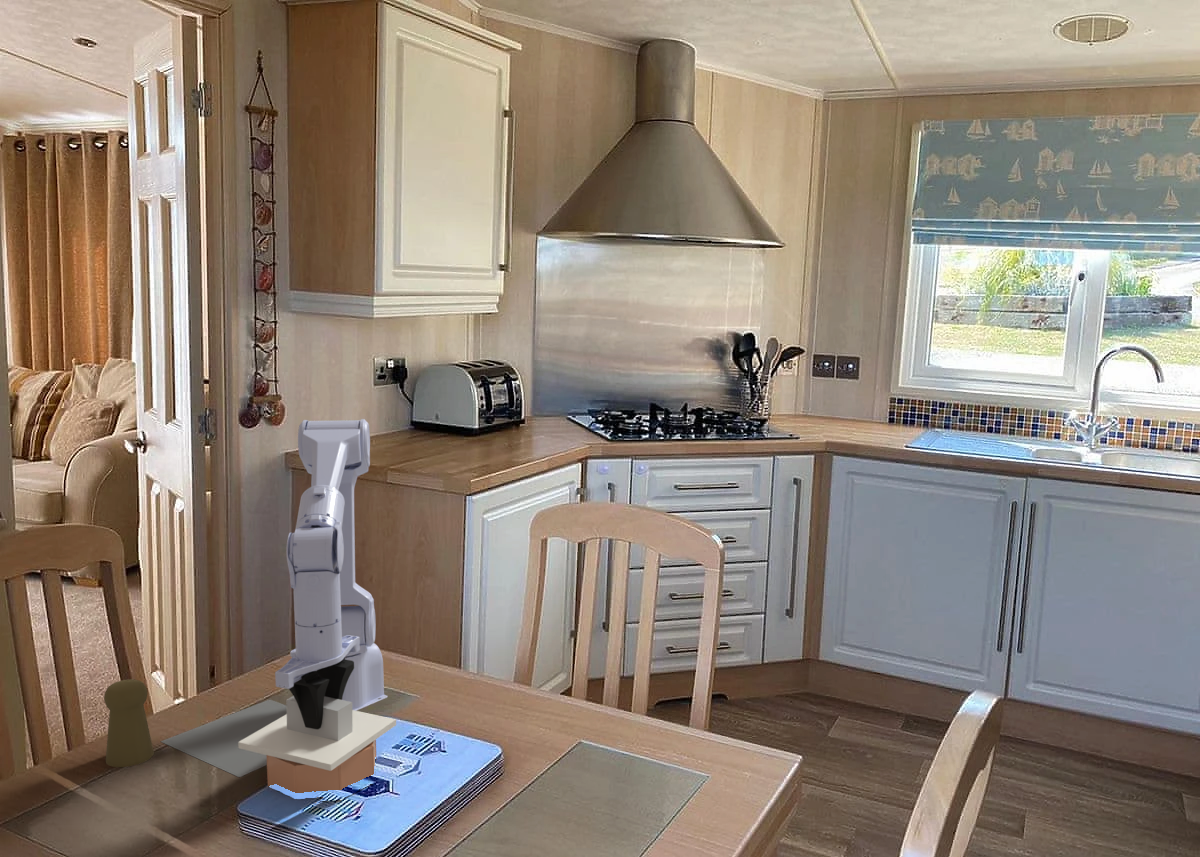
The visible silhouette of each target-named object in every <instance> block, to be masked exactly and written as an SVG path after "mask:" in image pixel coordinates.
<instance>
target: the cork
mask: <svg viewBox="0 0 1200 857" xmlns="http://www.w3.org/2000/svg"><path fill="white" fill-rule="evenodd" d="M103 697H104V703H105V705H106V706H105V707H106V708H107V709H108V710H109V712H108V713H109V715H108V727H107V740H106V751H105V764H106V765H107V766H110V767H112V768H113V767H114V768H128V767H133V766H137V765H140V764H142V763H146V762H147V761H149V760H150V759H151V758H152V757H153V756H154V754H155V751H154V747H153V741H152V738H151V734H150V728H149V723H148V719H147V715H146V710H145V705H144V704H146V701H147V698H148V688H147V686H146V685H145V683H144V681H142V680H138V679H131V678H130V679H122V680H118V681H115V682H114V683H112V684H110V685H108V686H107V689H105V691H104V695H103Z"/></svg>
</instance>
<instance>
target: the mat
mask: <svg viewBox="0 0 1200 857" xmlns="http://www.w3.org/2000/svg"><path fill="white" fill-rule="evenodd" d="M286 714H287V706H286V704H283V703H281V702H278V701H276V700H273V699H268V700H265V701H262V702H259V703H257V704H254V705H252V706H249V707H247V708H244V709H241V710H239V711H236V712H233V713H230V714H228V715H225V716H223V717H220V718H218V719H215V720H212V721H211V722H208V723H205V724H203V725H201V726H200V725H199V726H197V727H195V728H192V729H190V730H187V731H184V732H181V733H179V734H176V735H173V736H171V737H168V738H166V739H163V740H161V741H160V743H162V744H165V745H167V746H168V747H171V748H174V749H175V750H177V751H180V752H183V754H186V755H188V756H191V757H193V758H195V759H198V760H200V761H202V762H204V763H207V764H208V765H211V766H213V767H215V768H218V769H219V770H222V771H224V772H225V773H229V774H231V775H232V776H235V777H237V778H242V777H244V776H246V775H248V774H251V773H253V772H255V771H257V770H260V769H262V768H265V767H267V756H266V755H264V754H260V753H256V752H252V751H248V750H244V749H240V748H239V746H238V742H239V741H241V740H243V739H245V738H246V737H248V736H250V735H251V734H253V733H255V732H257V731H258V730H260V729H262V728H264V727H265V726H267V725H269V724H270V723H272V722H274V721H276V720H277V719H279V718H281V717H283V716H284V715H286Z"/></svg>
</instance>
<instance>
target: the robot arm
mask: <svg viewBox="0 0 1200 857" xmlns="http://www.w3.org/2000/svg"><path fill="white" fill-rule="evenodd" d="M370 433H371V432H370V424H369V422H368V421H367V420H366V419H365V418H361V419H357V420H356V419H354V420H353V419H352V420H350V419H348V420H346V419H345V420H308V419H303V420H302V422H300V424H299V425H298V432H297V449H298V455H299V459H300V460H301V463H302V465H303V467H304V468H305V470H306V472H307V473H308V474H310V475H311V479H310V480H311V484H310V485H311V486H310V487H307V489H306V490H304V492H303V493H302V494H301V496H300V501H299V507H298V513H297V517H296V518H297V519H296V523H295V530H294V532H289V533H288V534H287V535H288V536H287V541H286V562H287V568H288V572H289V580H290V582H289V583H290V588H291V589H293V611H294V633H295V634H294V636H295V637H294V640H295V648H294V649H292V650H291V651H290V652H289V653H290V654H289V655H290V657H291V658H290V659H289V660H288V661H287V662H286V663H285V664H284V665H283V666H282V667H281V668H280V669H278V670H276V671H275V673H274V674H275V679H274V680H275V688H276V687H277V688H281V689H287V690H289V691H290V693H291V694H292V696H294V698H295V700H296V702H297V704H298V707H299V709H300V712H301V715H302V718H303V721H304V724H305V727H306V728H312V729H320V728H321V725H322V719H323V702H324V696H326V697H330V698H335V699H340V700H344V701H349V702H352V710H355V711H359V710H361V709H363V708H366V707H368V706H370V705H373V704H375V703H377V702H379V701H382V700H384V699H387V698H388V696H389V695H386V694H385V681H384V659H383V654H382V652H381V649H380V648H379V646H378V645H377V644H376V643H375V641H376V623H377V622H376V621H377V620H376V610H375V603H374V602H375V599H374V598H373V596H372V595H373V594H371V593H370V592H369V591H368V590H366V589H365V588H363V587H362V586H360V584H358V583H357V582H356V550H355V549H356V545H355V544H356V543H355V539H356V536H355V531H356V530H355V528H356V527H355V486H356V483H357V480H358V477H360V476H361V475H364V474H367V473H368V472H369V468H370V466H371V451H370V450H371V434H370ZM350 605H351V606H350Z"/></svg>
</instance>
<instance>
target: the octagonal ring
mask: <svg viewBox="0 0 1200 857" xmlns="http://www.w3.org/2000/svg"><path fill="white" fill-rule="evenodd" d="M266 756H267V765H266V772H267V773H266V774H267V775H266V776H267V787H268V786H270V785H274V784H277V785H279V786H281V787H284V788H285V789H288V790H290V791H292V792H295V793H304V792H312V791H314V792H316V791H328V790H342V789H343V788H345V787H347V786H348V785H351V784H353V783H356V782H358V781H360V780H362V779H364V778H366V777H369V776H371V775H373V774H374V766H375V767H376V765H375V757H376V758H377V739H376V740H374V741H373V742H371V743H370V744H369V745H367V746H366V747H364V748H363V749H361V750H360V751H359V752H357V753H356V754H354V755H353V756H351V757H350V758H349V759H347V760H346V761H344V762H343V763H341V764H340V765H339V766H337V767H336V768H334V769H333V770H331V771H329V770H325V769H321V768H317V767H313V766H309V765H305V764H301V763H297V762H293V761H289V760H285V759H281V758H277V757H273V756H268V755H266Z"/></svg>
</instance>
